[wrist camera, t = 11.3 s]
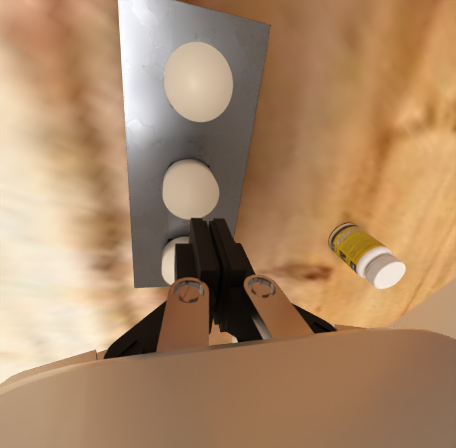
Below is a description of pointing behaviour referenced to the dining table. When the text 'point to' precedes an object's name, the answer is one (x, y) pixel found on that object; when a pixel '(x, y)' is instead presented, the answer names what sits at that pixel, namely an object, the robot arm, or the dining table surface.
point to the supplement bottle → (366, 256)
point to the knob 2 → (198, 82)
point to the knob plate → (182, 118)
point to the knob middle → (190, 189)
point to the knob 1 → (170, 259)
